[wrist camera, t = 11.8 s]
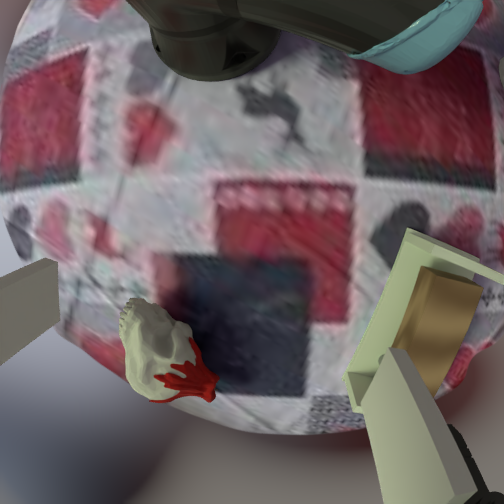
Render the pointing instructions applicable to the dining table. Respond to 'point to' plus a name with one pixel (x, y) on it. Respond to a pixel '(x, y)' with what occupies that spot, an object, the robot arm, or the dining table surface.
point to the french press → (501, 71)
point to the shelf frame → (403, 303)
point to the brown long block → (437, 322)
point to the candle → (162, 355)
